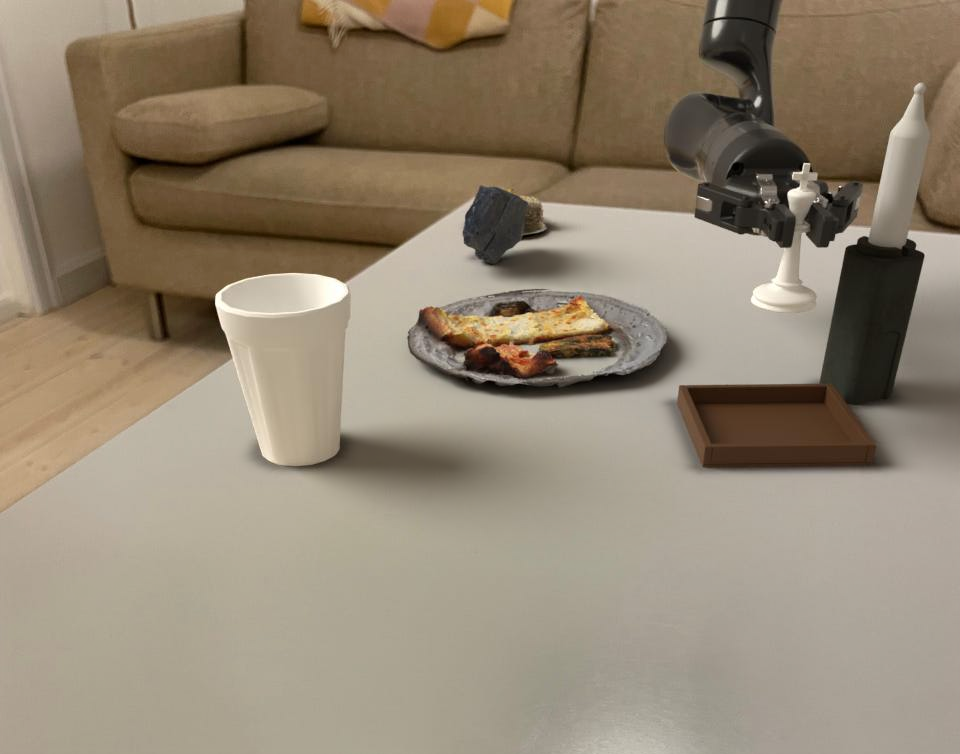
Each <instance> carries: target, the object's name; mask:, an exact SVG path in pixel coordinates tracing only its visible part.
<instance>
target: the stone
mask: <svg viewBox="0 0 960 754" xmlns="http://www.w3.org/2000/svg"><path fill="white" fill-rule="evenodd" d="M527 205H528V202H527V201H525V200H523V199H521V197H520V195H517V194H515V193H514V194H512V192H511V191H510V192H508V190H506V189H502V188H500V187H498V186H484V185H480V186H479V187H478V190H477V193H476V194H475V196H474V199H473V201H472V204H471V205H470V206H469V208H468V210H467V211H466V213H465V215H464V225H463V229H462V232H461V233H462V237H463V244H464V245H466V247H467V248H470V249H472V250H474V256H475V257H476V258H477V259H478V260H481V261H484V262H485V263H486V264H490V265H494V264H497V263H498V262H499V261H500V260H501V258H502V257H503V256H504V254H505V253H507V251H508V250H510V249H513V248H514V247H515V246H516V245H517V244H518V243H519V242H520V241H522V238H523V235H522V234H523V230H524V219H525V215H526V210H527Z"/></svg>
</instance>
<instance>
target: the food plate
mask: <svg viewBox="0 0 960 754" xmlns="http://www.w3.org/2000/svg"><path fill="white" fill-rule="evenodd" d="M664 326H665V324H663V322H662V321H660V320H659V319H658V318H657V317H655V316H654V315H653V314H652V313H651V311H649V310H648V309H647V308H645V307H642V306H638V305H635V304H633V303H630V302H627V301H625V300H624V299H621V298H616V297H613V296H609V295H604V294H598V293H593V292H592V293H591V292H585V291H583V292H582V291H559V290H549V289H548V288H529V289H518V290H509V291H503V292H498V293H492V294H486V295H480V296H476V297H474V298H473V297H472V298H471V297H470V298H466V299H460V300H458V301H454V302H450V303H448V304H445V305H443V306H439V307H438V306H435V307H434V306H431V305H429V306H426V307H424V308H423V309H422V308H421V309H420V310H419V311H418V318H417V321H416V322H415V324H414V325H413V326H411V328H409V330H408V332H407V334H408V335H407V336H406V337H407V338H406V339H407V346H408V347H407V348H408V349H409V353H410V354H411V355H412V356H413V357H414V358H415V359H416V360H418V361H419V362H421V363H423V364H425V365H428V366H430V367H433V368H435V369H438V370H439V371H440V372H442V373H443V374H445V375H446V376H454V377H455V378H457V379H458V378H459V379H465V381H466V382H465V384H468V383H469V379H468V378H470V379H471V380H472V382H473V383H475V384H483V383H484V382H487V381H492V382H494V384H495V386H500V387H504V386H505V387H506V386H514V385H517V384H518V385H520V384H521V385H527V386H531V387H552V386H555V385H557V388H564V387H568V386H571V385H574V384H576V383H580V382H589V381H591V380H592V379H594V377H597V376H609V375H610V374H611V375H612V374H616V375H621V376H626V375H628V374H631V373H633V372H635V371H638V370H641V369H642V368H645V367H648V366H649V365H652V364H653V363H654V362H656V361H657V358H658V357H659V356H660V355H661V350H662V349H663V347H664V346H665V344H666V343H667V339H668V337H667V327H664ZM612 339H613V340H612ZM615 343H616V344H617V345H618V346H619V347H620V348H621V354H620V357H618V358H617V361H616V362H614V363H612V364H610V365H607V366H605V367H602V368H601V369H600V370H596V371H592V373H589V374H587V375H586V374H585V375H584V374H581V375H578V374H576V375H571V376H570V375H569V376H562V377H548V378H543V379H542V380H539V379H534V380H526V379H532V378H537V377H540V376H542V375H549V374H554V373H555V369H556V368H557V367H558V366H559V363H557V360H554V359H553V358H571V359H573V358H594V357H595V358H598V357H609V358H612V357H614V355H612V354H613V352H616V351H617V350H616V347H617V346H616V344H615ZM536 344H539V348H538V350H537V351H536V353H534V352H530V351H529V350H527V349H526V350H525V349H524V348H523V347H522V345H524V346H530V347H531V346H533V345H534V346H536ZM461 351H465V352H461ZM455 354H456V356H455V357H457V358H464V361H463V364H462V363H460V362H459V360H458V359H456V358H455V357H454V355H455ZM560 360H561V359H560ZM563 361H564V360H562V362H563Z"/></svg>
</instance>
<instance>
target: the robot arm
mask: <svg viewBox="0 0 960 754" xmlns="http://www.w3.org/2000/svg"><path fill="white" fill-rule="evenodd" d="M782 4H783V0H706V2H705V9H704V15H703V20H702V26H701V30H700V37H699V43H698V44H699V45H698V58H699V60H700V62H701V64H703V65H704V66H705V68H707V69H708V70H710V71H712V72H715V73H717V74H718V75H721V76H722V77H725V78H726V79H728V80H729V81H731V82H732V84H733V85H734V87H735V89H736V91H737V92H736V93H737V95H738V97H736V96H730V95H724V94H719V93H713V92H708V91H697V90H696V91H691V92H688V93H687V94H685V95H683V96H682V97H680V98H679V99H678V100H677V101H676V102H675V104H673V106H672V108H670V111H669V113H668V115H667V117H666V120H665V124H664V128H663V129H664V130H663V148H664V151H665V155H666V158H667V161H668V162H669V163H670V165H671V166H672V168H674V169H675V171H677V172H678V173H680V174H682V175H683V176H685V177H687V178H690V179H692V180H695V181H697V182H700V183H698V184H697V189H696V191H697V192H696V198H695V206H694V218H695V219H697V220H700V221H703V222H705V223H708V224H710V225H713V226H716V227H718V228H721V229H723V230H727V231H729V232H732V233H735V234H738V235H746V234H747V235H750V236H756V237H758V236H760V237H761V236H763V237H764V238H768V240H769V241H772V242H773V243H774V242H775V243H776V244H777V246H778V247H779V248H780V249H785V248H791V246H792V242H793V236H794V230H795V224H796V218H795V216H794V214H793V213H792V212H791V211H790V210H789V202H788V192H789V191H790V190H792V189H796V188H798V187H800V181H801V180H793V179H792V176H793V172H802V170H803V164H804V163H810V170H809V173H814V169H813V166H812V164H811V161H810V159H809V157H808V155H807V154H806V152H805V151H804V150H803V149H802V148H801V147H800V146H799V145H798V144H796V142H794V141H793V140H791V139H790V138H789V137H788V136H787V135H786V134H785V133H784V132H782V131H781V130H780V129H779V128H778V127H776V109H775V100H774V99H775V98H774V77H773V72H774V71H773V69H774V68H773V67H774V66H773V65H774V63H773V61H774V49H775V48H774V47H775V41H776V35H777V31H778V26H779V20H780V14H781V10H782ZM806 188H809V189H810V190H813V191H814V192H815V193H816V197H815V199H814V202H813V203H812V205H811V207H810V209H809V212H808V214H807V215H806V217H805V219H804V220H805V222H806V223H808V224H810V228H811V230H810V231H808V232H805V236H806V237H807V238H808V240H810V242H811V243H813V245H814V246H815V247H816V248H818V249H820V248H821V249H823V248H825V249H827V248H829V246H830V242H835V239H836V235H838V234H843V233H844V232H845V231H846V230H847V229H848V228H849V226H850V225H851V224H852V223H853V222H854V220H856V218H857V217H858V213H859V208H860V203H861V198H862V194H863V188H864V183H862V182H860V181H857V180H854V181H850V182H849V181H848V182H847V183H846V184H845V185H844V184H839V185H838V187H837V190H833V189H829V184H828V183H827V182H826V181H824V180H822V179H818V178H817V181H812V180H808V182H807V187H806Z"/></svg>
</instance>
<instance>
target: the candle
mask: <svg viewBox="0 0 960 754" xmlns="http://www.w3.org/2000/svg"><path fill="white" fill-rule="evenodd" d="M913 91H914V94H913V96H912V98H911V100H910V102H909V104H908V105H907V108H906V110H905V111H904V114H903V116H902V117H901V119H900V120H899V121H898V122H897V123H896V124H895V126H894V127H893V128H892V129H891V131H890V133H889V137H888V142H887V146H886V151H885V156H884V162H883V166H882V171H881V175H880V181H879V186H878V190H877V196H876V200H875V205H874V209H873V215H872V219H871V225H870V230H869V235H868V236H866V235H863V236H860V237H859V238H857V241H856V243H855V244H849V245H847V246H846V247H845V249H844V254H843V258H842V263H841V264H842V265H841V269H840V275H839V280H838V285H837V291H836V295H835V299H834V300H835V301H834V305H833V311H832V316H831V321H830V326H829V333H828V337H827V342H826V347H825V352H824V357H823V362H822V366H821V367H822V368H821V373H820V377H819V383H818V384H829V383H832V384H833V386H834V387H835V388H836V390H837V391H838V393H839V394H840V395H841V397H842V398H843V399H844V401H845V402H846V404H847V405H848V406H849V405H850V406H862V405H863V404H866V403H871V402H877V401H881V400H884V401H885V400H890V399H891V398H892V394H893V390H894V386H895V383H896V378H897V374H898V370H899V365H900V362H901V358H902V354H903V349H904V344H905V340H906V336H907V332H908V328H909V324H910V321H911V316H912V310H913V306H914V303H915V298H916V295H917V290H918V286H919V282H920V278H921V273H922V269H923V264H924V262H925V253H924V252H923V251H921V250H918V249H917V243H916V242H915V241H914V240H913V239H911V238H908V235H909V231H910V228H911V222H912V219H913V213H914V209H915V205H916V200H917V196H918V191H919V187H920V183H921V179H922V174H923V169H924V165H925V160H926V156H927V153H928V147H929V143H930V138H931V131H930V128H929V126H928V123H927V121H926V117H925V102H924V101H925V100H924V99H925V98H924V94H925V92H926V91H927V87H926V84H925V83H923V82H919V83H917V84H916V85H915V86H914V88H913Z"/></svg>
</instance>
